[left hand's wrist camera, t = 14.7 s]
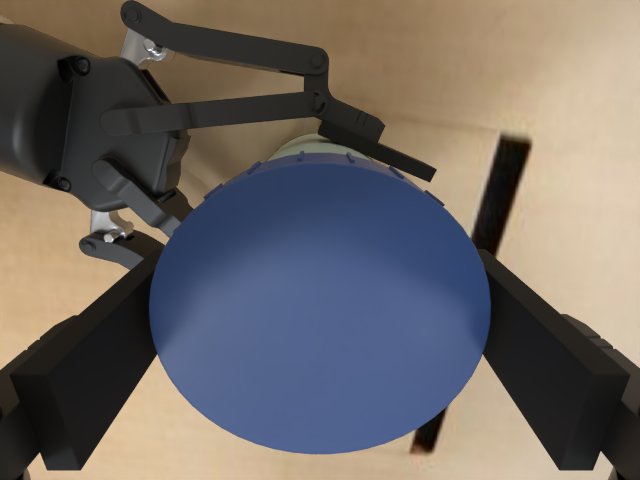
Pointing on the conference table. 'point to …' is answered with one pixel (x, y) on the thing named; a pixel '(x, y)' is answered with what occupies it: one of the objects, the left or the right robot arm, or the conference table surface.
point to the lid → (319, 305)
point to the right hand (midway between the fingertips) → (387, 246)
